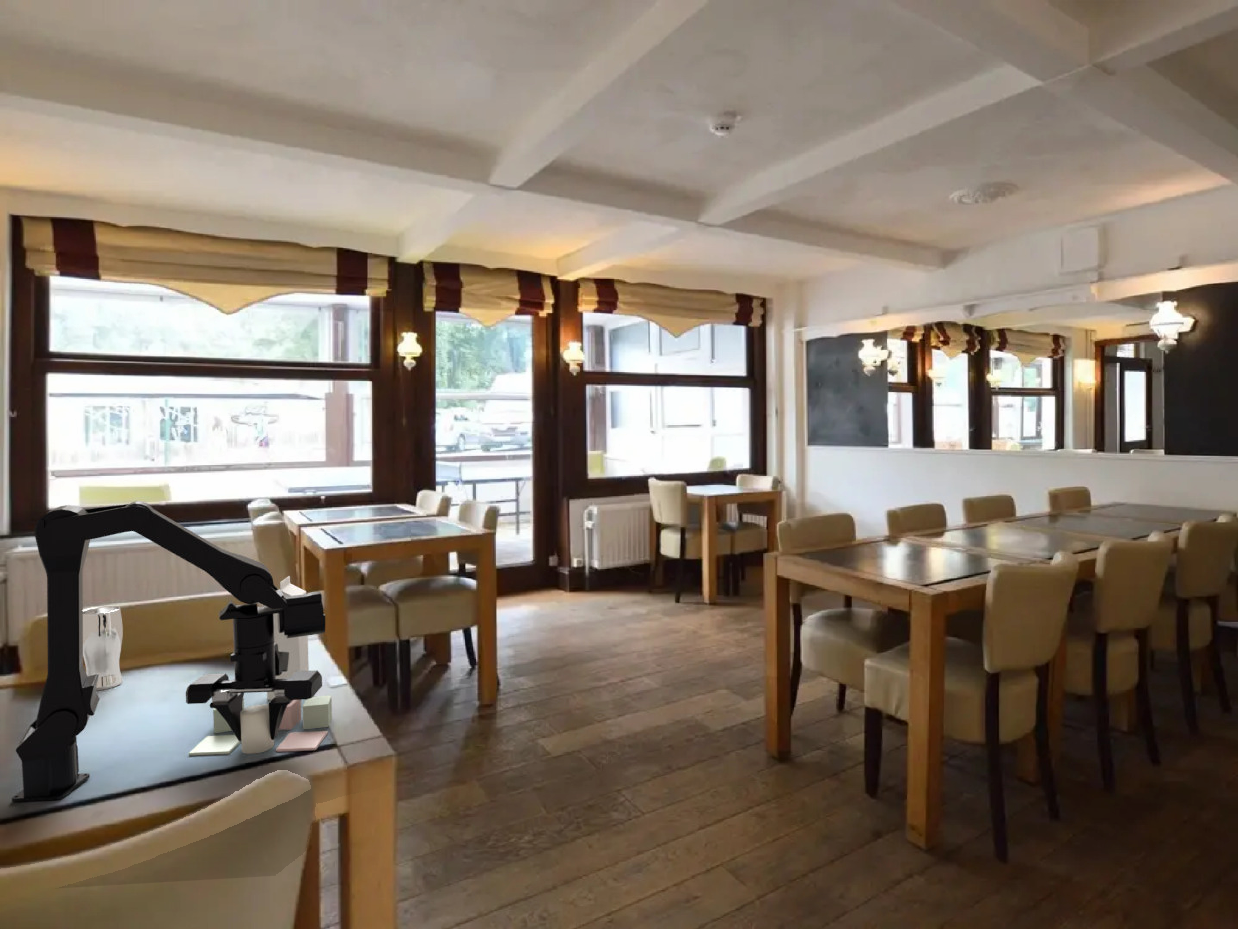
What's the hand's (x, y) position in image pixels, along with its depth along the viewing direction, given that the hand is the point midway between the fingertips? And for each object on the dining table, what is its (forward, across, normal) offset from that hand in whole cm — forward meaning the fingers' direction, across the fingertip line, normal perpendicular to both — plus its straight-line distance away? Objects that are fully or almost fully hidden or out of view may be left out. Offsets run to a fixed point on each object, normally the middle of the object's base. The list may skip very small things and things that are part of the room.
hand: (257, 739), depth 114 cm
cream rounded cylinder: (+1, 0, 0) cm, 1 cm away
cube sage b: (+1, +8, -8) cm, 12 cm away
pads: (+1, 0, -1) cm, 2 cm away
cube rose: (+1, -1, -8) cm, 9 cm away
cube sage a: (+1, -6, -8) cm, 11 cm away
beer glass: (+1, +42, -31) cm, 52 cm away
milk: (+2, +4, -23) cm, 23 cm away
